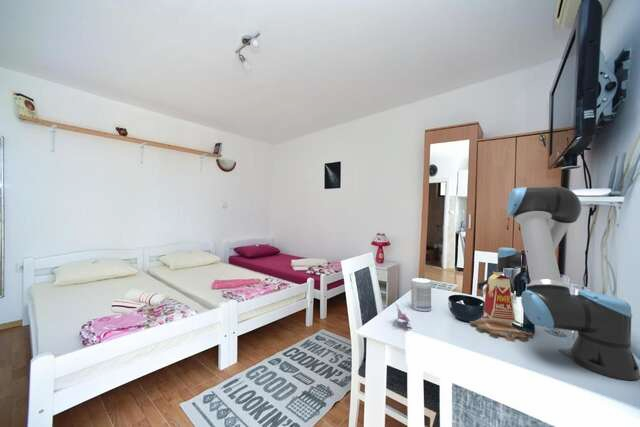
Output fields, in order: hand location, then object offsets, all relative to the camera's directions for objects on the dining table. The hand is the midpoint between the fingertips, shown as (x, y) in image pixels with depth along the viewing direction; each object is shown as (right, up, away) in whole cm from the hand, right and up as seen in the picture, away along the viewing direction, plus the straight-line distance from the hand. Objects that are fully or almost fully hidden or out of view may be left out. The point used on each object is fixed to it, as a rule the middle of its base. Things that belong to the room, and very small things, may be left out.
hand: (498, 294), depth 107 cm
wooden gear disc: (+3, -16, +3) cm, 16 cm away
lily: (-39, -16, +5) cm, 42 cm away
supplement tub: (-22, -16, +26) cm, 37 cm away
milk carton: (+3, -11, +4) cm, 12 cm away
